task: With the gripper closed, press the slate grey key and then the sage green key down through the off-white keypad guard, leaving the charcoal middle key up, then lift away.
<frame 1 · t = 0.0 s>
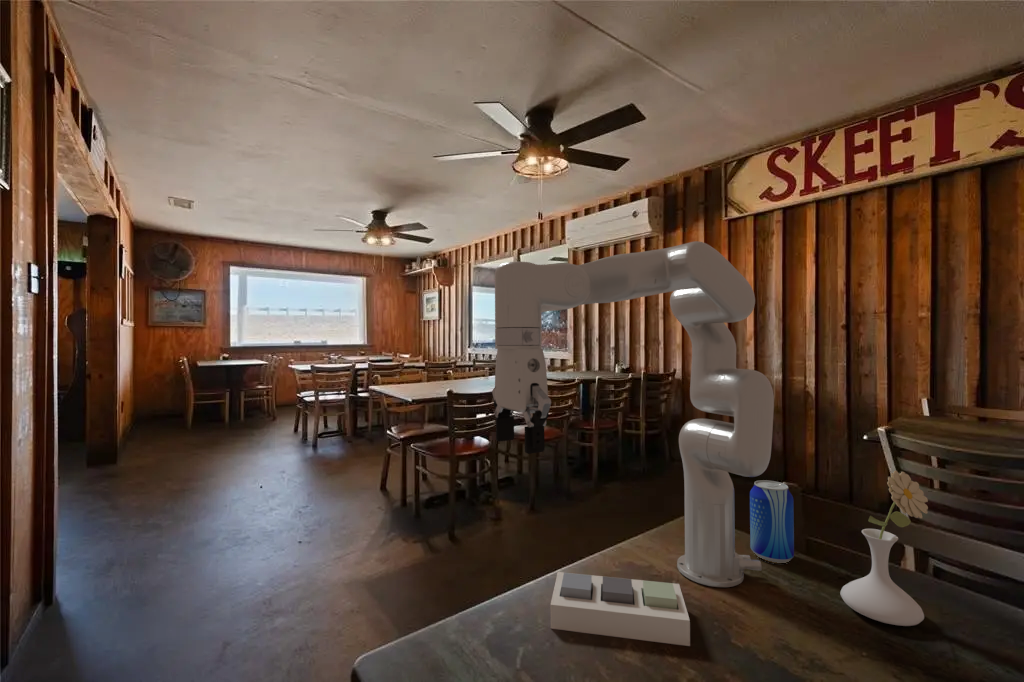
hand: (519, 446, 73), 31 cm above the table, tool pointing down, fingers open, 9 cm apart
slate key: (576, 589, 80), point 4 cm above the table, slide at 0.0 cm
charcoal key: (617, 593, 78), point 4 cm above the table, slide at 0.0 cm
sage key: (659, 598, 77), point 4 cm above the table, slide at 0.0 cm
flower in vase: (885, 614, 79), on the table
keypad: (617, 616, 78), on the table
beer can: (771, 557, 100), on the table
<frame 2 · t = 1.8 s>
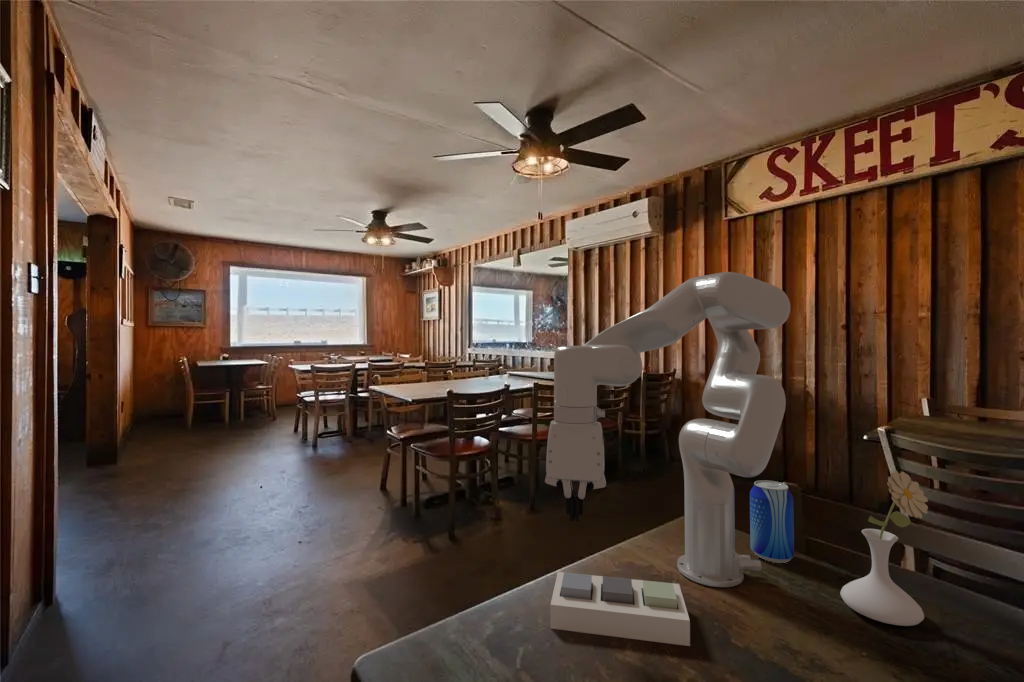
hand: (575, 518, 80), 17 cm above the table, tool pointing down, fingers closed
nothing on the table moved.
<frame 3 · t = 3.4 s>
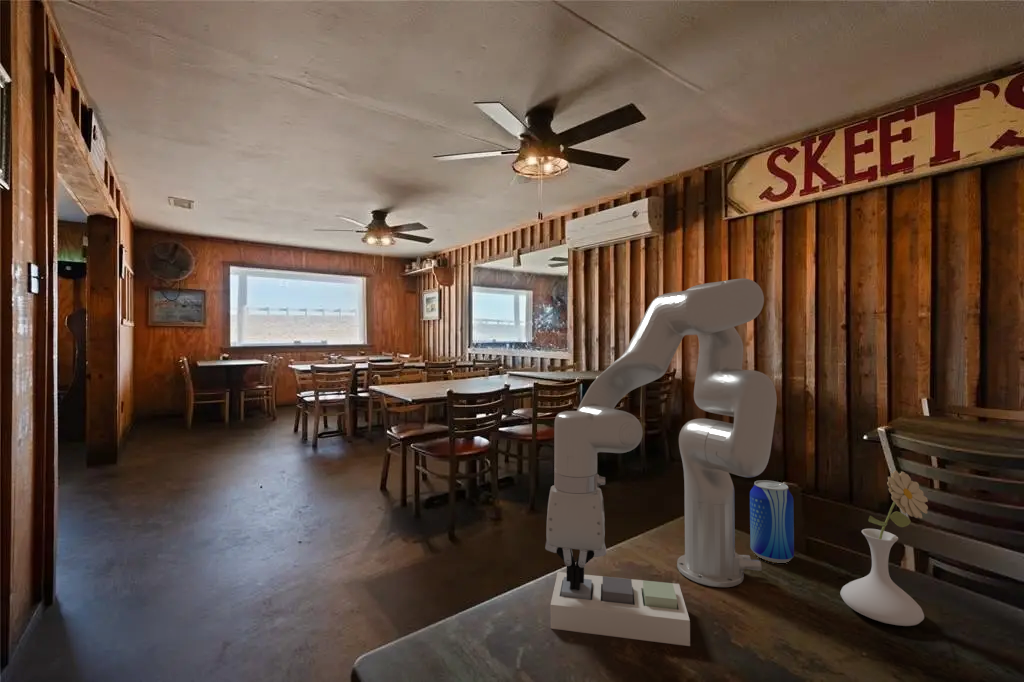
hand: (575, 585, 80), 5 cm above the table, tool pointing down, fingers closed
slate key: (576, 593, 80), point 3 cm above the table, slide at 0.8 cm, touching gripper
everything else where it was.
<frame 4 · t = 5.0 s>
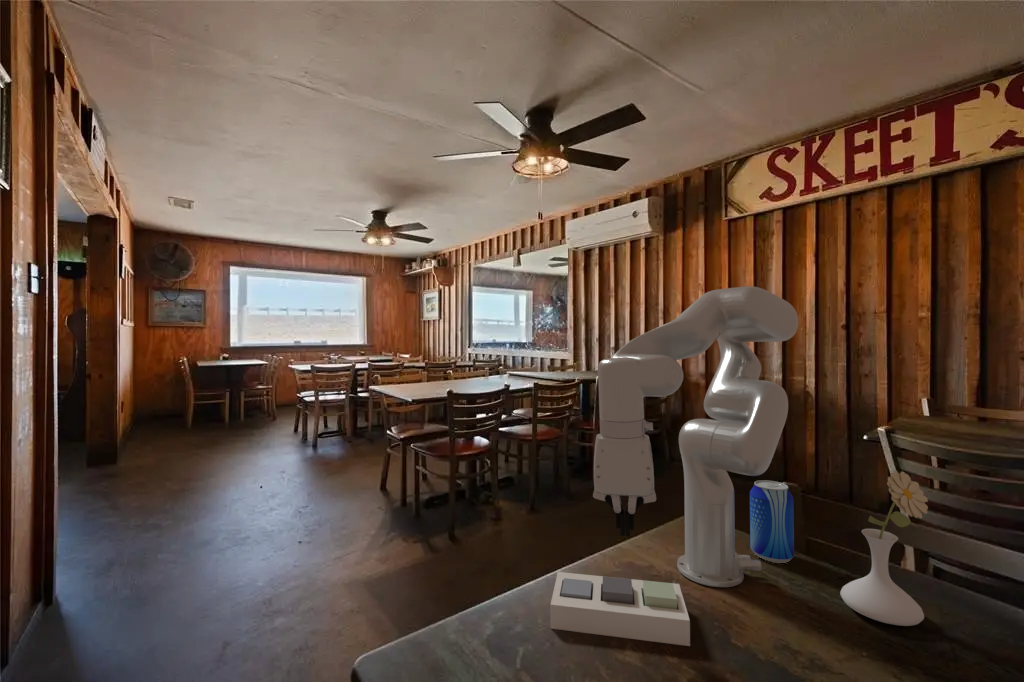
hand: (625, 532, 79), 14 cm above the table, tool pointing down, fingers closed
slate key: (576, 595, 80), point 3 cm above the table, slide at 1.0 cm
everything else where it was.
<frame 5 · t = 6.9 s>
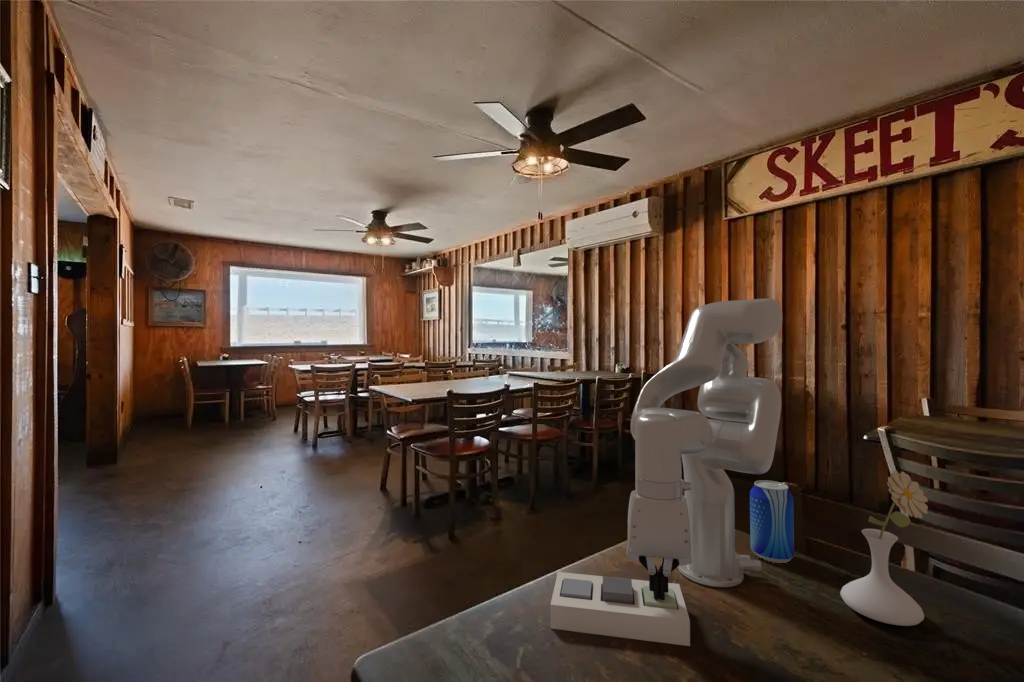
hand: (658, 595, 77), 5 cm above the table, tool pointing down, fingers closed
sage key: (659, 603, 77), point 3 cm above the table, slide at 0.9 cm, touching gripper
everything else where it was.
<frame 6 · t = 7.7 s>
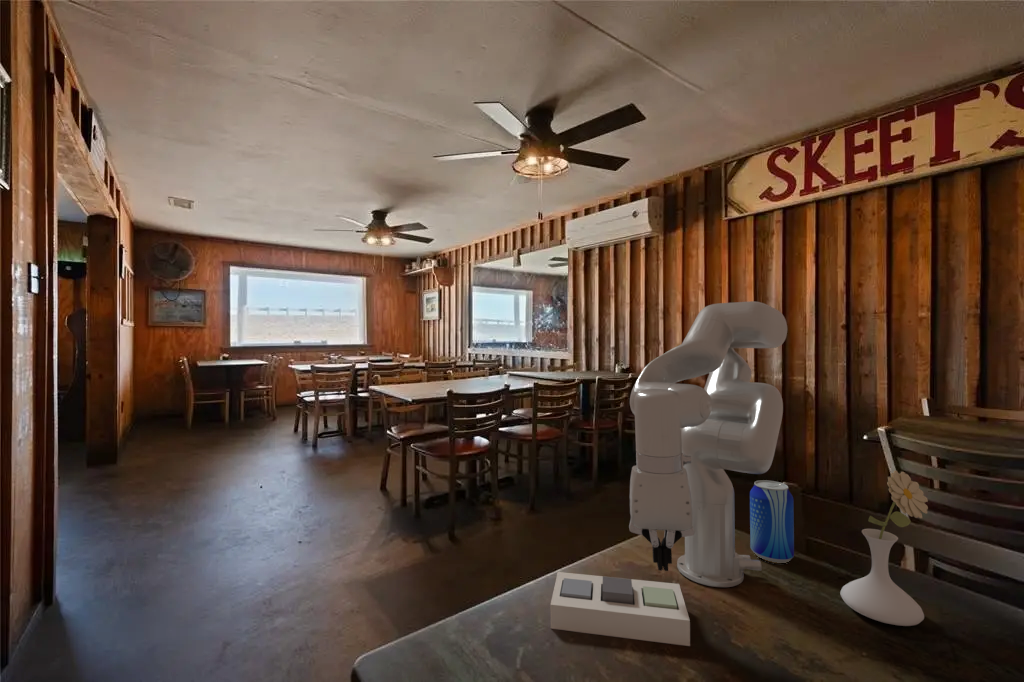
hand: (662, 566, 78), 9 cm above the table, tool pointing down, fingers closed
sage key: (659, 604, 77), point 3 cm above the table, slide at 1.0 cm
everything else where it was.
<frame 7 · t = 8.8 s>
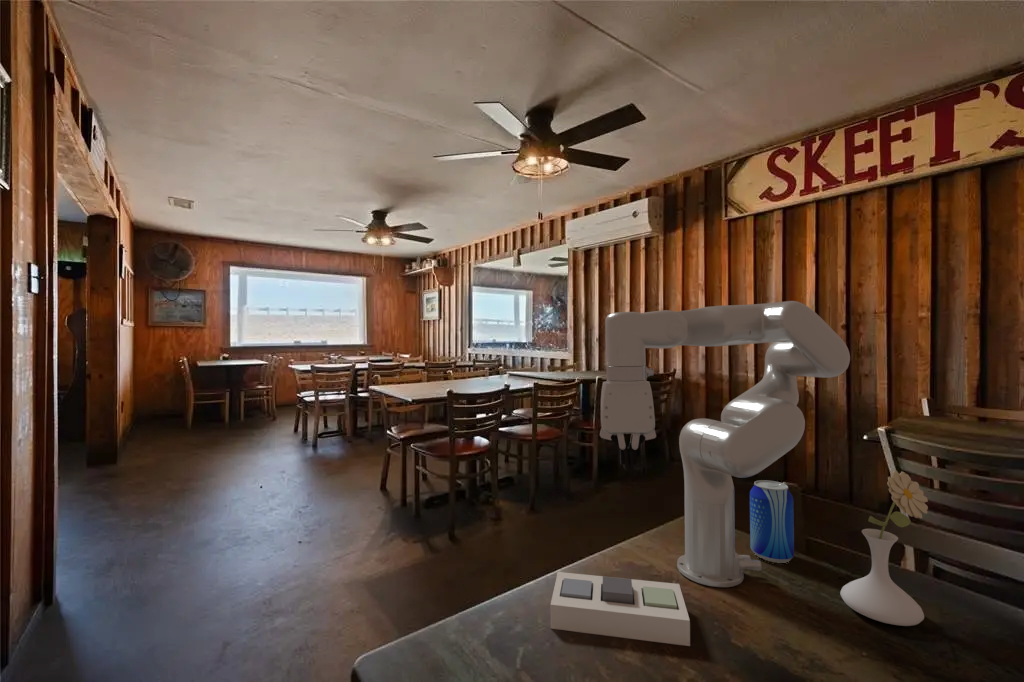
hand: (628, 468, 88), 23 cm above the table, tool pointing down, fingers closed
nothing on the table moved.
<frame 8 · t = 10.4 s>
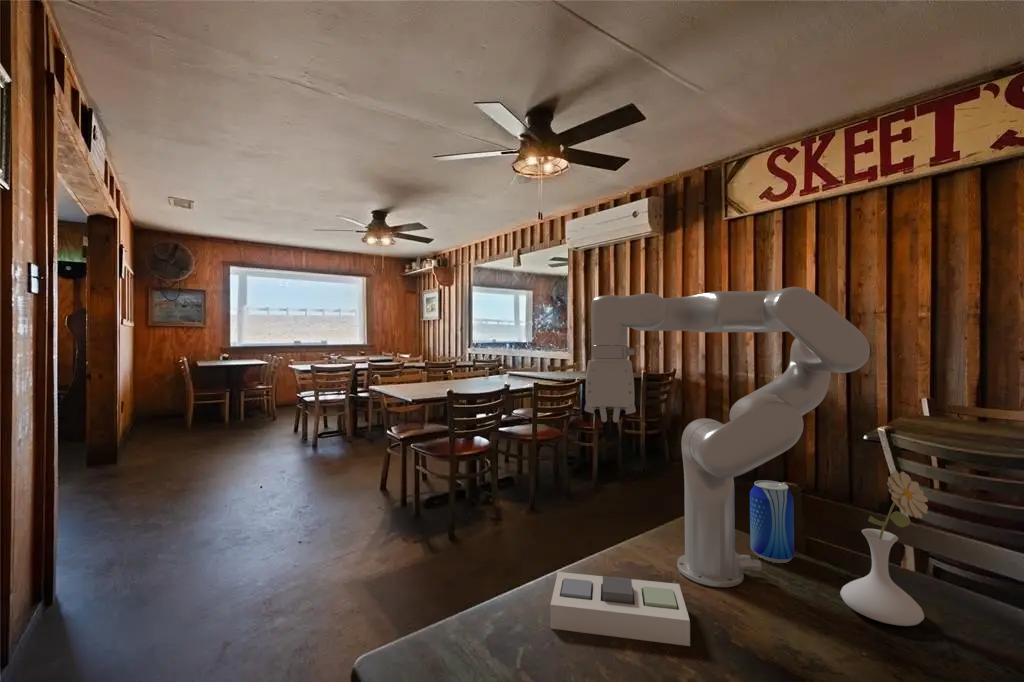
hand: (610, 439, 96), 27 cm above the table, tool pointing down, fingers closed
nothing on the table moved.
at the end: slate key slide at 1.0 cm; sage key slide at 1.0 cm; charcoal key slide at 0.0 cm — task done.
